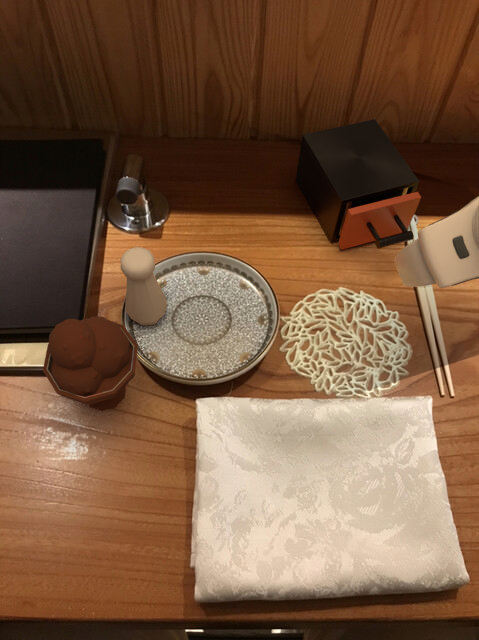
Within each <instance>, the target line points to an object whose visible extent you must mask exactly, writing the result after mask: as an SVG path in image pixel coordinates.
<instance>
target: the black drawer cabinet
mask: <svg viewBox="0 0 479 640" xmlns="http://www.w3.org/2000/svg"><path fill="white" fill-rule="evenodd" d="M298 156H299V157H298V161H297V167H296V174H295V183H296V184H297V186H298V188H299V189H300V191H301V193H302V194H303V196H304V198H305V200H306V202H307V203H308V205H309V207H310V209H311V211H312V212H313V214H314V216H315V218H316V220H317V221H318V224H319V225H320V227H321V229H322V230H323V232H324V234H325V236H326V238H327V240H328V241H329V243H330V244H335V243H339V239H340V235H338V230H339V227H340V223H341V219H342V216H343V212H344V208H345V205H346V203H348V202H352V201H356V200H360V199H364V198H368V197H372V196H376V195H381V194H385V193H389V192H393V191H397V190H401V189H405V188H408V190H407V193H406V194H410V193H414V192H417V189H418V187H419V184H420V180H419V178H418V177H417V176H416V175H415V173H414V171H413V170H412V168H411V167H410V166H409V165H408V163H407V162H406V161H405V159H404V157H403V156H402V154H401V153H400V152H399V151H398V149H397V147H396V146H395V145H394V143H393V141H391V139H390V138H389V137H388V135H387V134H386V133H385V131H384V130H383V128H382V126H381V125H380V124H379V123H378V121H377V119H376V118H373V119H369V120H363V121H359V122H355V123H351V124H346V125H341V126H335V127H332V128H327V129H322V130H318V131H313V132H309V133H308V132H307V133H305V134H302V137H301V142H300V150H299V155H298Z"/></svg>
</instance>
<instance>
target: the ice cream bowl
mask: <svg viewBox="0 0 479 640" xmlns="http://www.w3.org/2000/svg"><path fill="white" fill-rule="evenodd" d="M138 350H139V344H138V343H137V341H136V340H135V339H134V338H133V336H132V335H131V333H130V331H129V330H128V329H127V328H126V327H125V325H124V324H121V323H117V322H116V321H113V320H111V319H108V318H106V317H104V316H98V315H96V316H88V317H87V318H84V319H81V320H79V319H76V318H66V319H65V320H63V321H62V322H60V323H57V324H56V325H55V327H54V328H53V329H52V331H51V332H50V333H49V336H48V344H47V348H46V351H45V357H44V362H43V367H42V372H43V374H44V375H45V377H46V378H47V380H48V381H49V383H50V385H51V387H52V388H53V389H54V391H55V393H56V394H57V395H59V396H60V397H62V398H65V399H68V400H72V401H74V402H78V403H81V404H84V405H88V407H89V408H91V409H94V410H97V411H101V412H105V411H109V410H113V409H115V408H117V407H118V406H119V404H121V402H122V401H123V400H124V399H125V398H126V391H127V389H126V388H127V385H129V383H130V382H131V381H132V380H133V379H134V377H135V376H136V368H137V359H138Z"/></svg>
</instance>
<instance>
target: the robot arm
mask: <svg viewBox="0 0 479 640" xmlns="http://www.w3.org/2000/svg"><path fill="white" fill-rule="evenodd" d="M416 234H417V238H416V239H413V240H412V241H411V242H409V243H408V244H407V245H405V246H404V247H403V248H402V249H400V250H399V251H398V252H397V254H395V256H394V259H393V262H394V265H395V268H396V271H397V274H398V276H399V278H400V280H401V283H402V284H403V286H404V287H407V288H419V287H428V286H432V285H433V286H434V285H436V286H437V287H438V288H439V289H445V288H446V289H447V288H449V287H454V286H457V285H460V284H463V283H466V282H470V281H473V280H477V279H479V195H478V196H477V197H475V198H474V199H472V200H470V202H468V203H467V204H466V205H464V206H463V207H462V208H460V210H456V211H455V212H453V213H451V214H449V215H447V216H445V217H443V218H441V219H439V220H436V221H434V222H432V223H430V224H428V225H427V226H424V227H423V228H421V229H419V230H418V232H417V233H416Z"/></svg>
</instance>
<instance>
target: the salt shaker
mask: <svg viewBox="0 0 479 640" xmlns="http://www.w3.org/2000/svg"><path fill="white" fill-rule="evenodd" d="M120 270H121V272H122V273H123V275H124V276H125V277H126V288H125V289H126V291H125V303H124V304H125V305H124V306H125V312H126V314H127V315H128V317H129V318H130V319H131V321H134V322H136V323H138V324H139V325H141V326H143V327H144V326H151V325H152V326H153V325H156V324H157V323H158V322H159V321H160V319H161V318H163V316H165V313H166V311H167V309H168V301H167V297H166V295H165V293H164V291H163V289H162V287H161V286H160V283H159V281H158V279H157V278H156V276H155V274H154V271H155V270H156V259H155V256H154V254H153V253H152V252H151V250H150V249H147V248H146V247H140V246H135V247H132V248H129V249H127V250H126V251H124V252H123V254H122V256H121V257H120Z"/></svg>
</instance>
